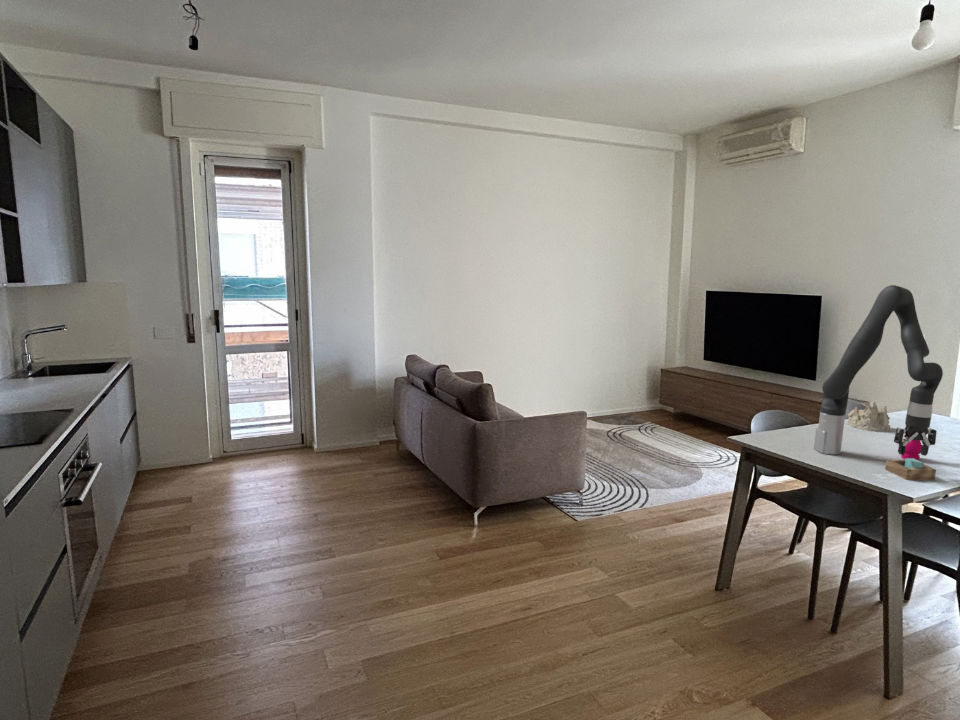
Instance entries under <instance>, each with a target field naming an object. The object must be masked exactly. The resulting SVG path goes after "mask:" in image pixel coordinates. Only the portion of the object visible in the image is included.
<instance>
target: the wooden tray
mask: <svg viewBox="0 0 960 720" xmlns="http://www.w3.org/2000/svg"><path fill="white" fill-rule="evenodd" d="M905 460H906V459H886V461H885V471H888V472H890V473H893V474H894V475H896V476H898V477H900V478H902V479H903V480H907V481H908V480H909V481H910V480H912V481H917V480H918V481H923V480H924V481H928V480H929V481H934V480H935V479H936V473H937V469H935V468H933V467H931V466H929V465H926V464H924V463H923V468H907V467H905Z"/></svg>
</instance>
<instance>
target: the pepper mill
mask: <svg viewBox="0 0 960 720" xmlns="http://www.w3.org/2000/svg"><path fill="white" fill-rule="evenodd" d="M907 438H908V437H907ZM922 445H923V444H922V442H921V441H920V440H912V441H911V442H908V443H907V444H906V445H905V446H906V449H905V455H901V454H900V457H901V458H902V459H903V460H906V458H914V459H916V460H918V461H920V458H921V457H920V455H921V447H922Z"/></svg>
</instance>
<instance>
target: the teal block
mask: <svg viewBox="0 0 960 720" xmlns="http://www.w3.org/2000/svg"><path fill="white" fill-rule="evenodd" d="M904 460H905V467H907V468H923V464H924V462H923V461H920V460H916V459H914V458H906V459H904Z"/></svg>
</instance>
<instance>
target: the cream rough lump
mask: <svg viewBox="0 0 960 720" xmlns="http://www.w3.org/2000/svg"><path fill="white" fill-rule="evenodd" d="M847 416H848V421H847V423H846V424H847V425H848V426H850V427H853V428H855V429H859V430H862V431H867V432H877V433H878V432H891V431H892V429H891V425H890V421H889V420H891V419H890V417H889V415H888V411H887V405H885V404H883V405H882V406H881V408H879V407H878V405H877V404H876V401H873V400H872V402H871V403H870V405H867V406H866V407H865V408H864V409H859V408H858V407H856V406H855V408H854V409H852V410H851V411H850V412H849V413H847Z"/></svg>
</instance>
